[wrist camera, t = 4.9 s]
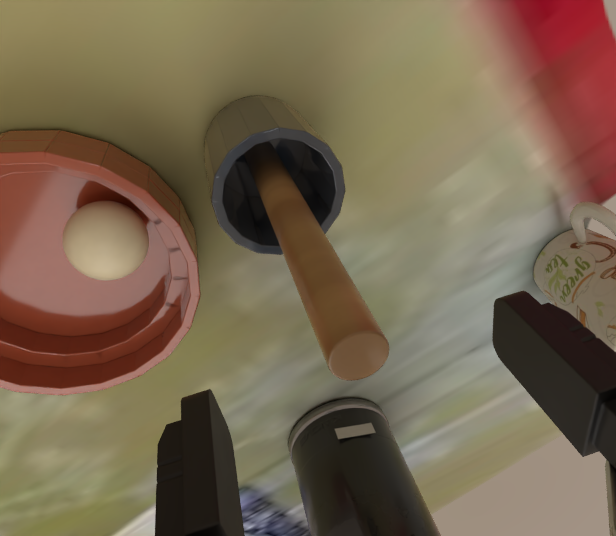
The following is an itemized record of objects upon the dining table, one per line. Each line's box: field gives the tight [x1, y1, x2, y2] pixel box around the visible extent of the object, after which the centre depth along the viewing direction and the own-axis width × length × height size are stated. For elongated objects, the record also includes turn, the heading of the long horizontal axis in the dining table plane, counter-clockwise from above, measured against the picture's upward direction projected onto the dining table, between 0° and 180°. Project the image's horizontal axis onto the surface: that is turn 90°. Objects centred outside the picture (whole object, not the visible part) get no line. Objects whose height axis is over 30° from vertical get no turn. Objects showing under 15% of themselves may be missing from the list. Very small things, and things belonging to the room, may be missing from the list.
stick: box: [245, 141, 389, 380], centre depth 20 cm, size 2×2×18 cm
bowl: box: [0, 130, 201, 395], centre depth 27 cm, size 15×15×4 cm
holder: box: [204, 96, 345, 255], centre depth 25 cm, size 6×6×7 cm
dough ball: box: [62, 201, 149, 280], centre depth 26 cm, size 4×4×4 cm
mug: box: [533, 202, 616, 352], centre depth 34 cm, size 8×13×10 cm, turn 30°
